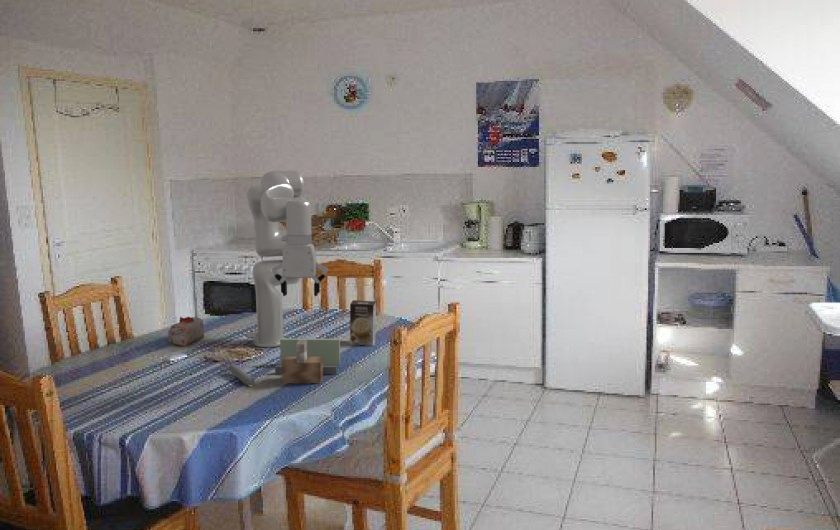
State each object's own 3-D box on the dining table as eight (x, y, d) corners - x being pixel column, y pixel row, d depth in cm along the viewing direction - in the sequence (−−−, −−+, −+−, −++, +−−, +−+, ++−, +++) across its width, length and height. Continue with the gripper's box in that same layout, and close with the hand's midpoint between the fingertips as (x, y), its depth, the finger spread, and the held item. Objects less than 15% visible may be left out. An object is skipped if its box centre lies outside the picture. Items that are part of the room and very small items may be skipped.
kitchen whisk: (244, 391, 203) (243, 371, 202) (204, 363, 229) (203, 345, 228) (263, 386, 207) (262, 367, 206) (221, 360, 233) (221, 342, 232)
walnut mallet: (282, 384, 209) (280, 344, 206) (286, 377, 215) (284, 338, 213) (320, 384, 209) (319, 344, 206) (323, 377, 215) (322, 338, 213)
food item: (185, 348, 245) (184, 322, 244) (167, 346, 247) (165, 320, 246) (206, 338, 258) (205, 313, 257) (188, 336, 260) (187, 312, 259)
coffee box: (349, 345, 250) (348, 303, 247) (352, 340, 256) (352, 300, 253) (373, 346, 249) (373, 304, 246) (376, 341, 255) (376, 300, 253)
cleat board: (275, 374, 218) (274, 347, 216) (281, 363, 228) (280, 338, 226) (336, 374, 218) (336, 347, 216) (340, 364, 228) (339, 338, 227)
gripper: (268, 241, 200) (270, 297, 202) (325, 242, 200) (327, 297, 203) (273, 238, 207) (275, 292, 210) (329, 238, 207) (330, 292, 210)
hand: (300, 295), depth 206 cm, fingers open, 9 cm apart
